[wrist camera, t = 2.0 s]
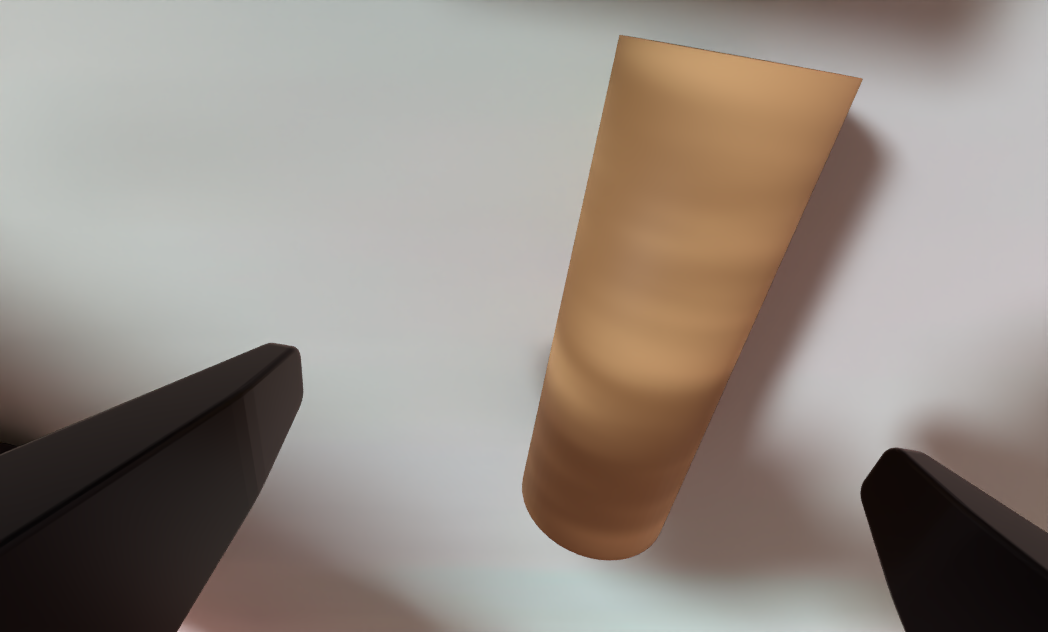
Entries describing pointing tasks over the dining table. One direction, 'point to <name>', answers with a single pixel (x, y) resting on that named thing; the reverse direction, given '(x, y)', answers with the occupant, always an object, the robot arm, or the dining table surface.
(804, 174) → the dowel
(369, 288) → the dining table surface
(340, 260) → the dining table surface
